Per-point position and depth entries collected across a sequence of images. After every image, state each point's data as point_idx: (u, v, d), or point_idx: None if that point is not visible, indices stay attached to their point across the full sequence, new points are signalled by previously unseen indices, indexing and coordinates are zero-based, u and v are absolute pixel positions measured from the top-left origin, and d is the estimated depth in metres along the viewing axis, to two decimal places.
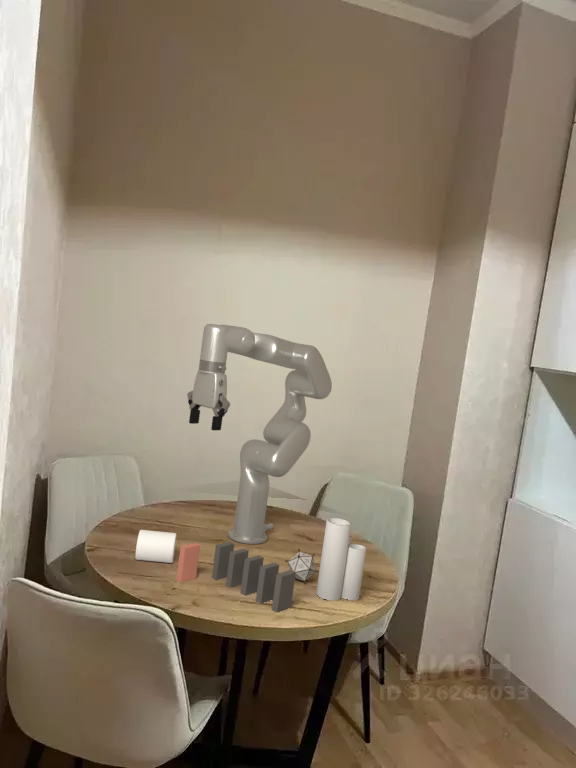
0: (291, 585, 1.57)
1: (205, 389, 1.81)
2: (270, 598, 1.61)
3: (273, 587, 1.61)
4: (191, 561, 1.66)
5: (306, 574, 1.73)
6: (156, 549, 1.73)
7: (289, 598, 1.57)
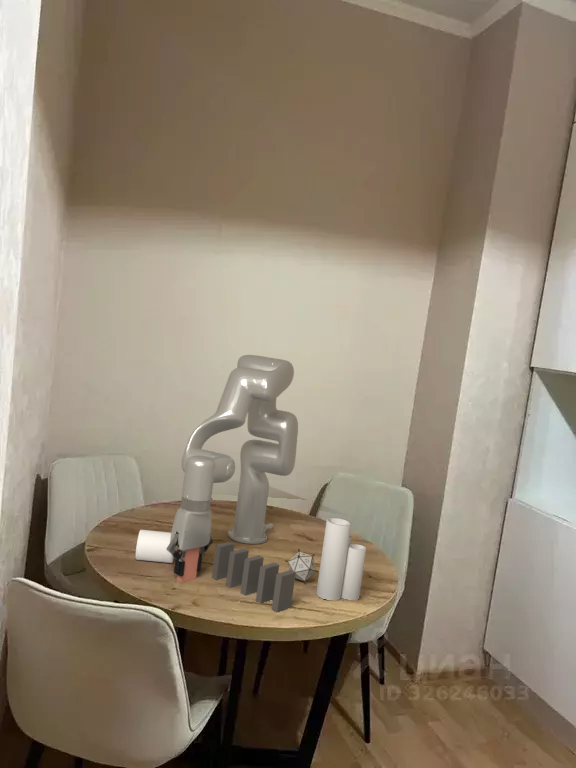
0: (291, 585, 1.57)
1: (202, 529, 1.65)
2: (270, 598, 1.61)
3: (273, 587, 1.61)
4: (191, 561, 1.66)
5: (306, 574, 1.73)
6: (156, 549, 1.73)
7: (289, 598, 1.57)
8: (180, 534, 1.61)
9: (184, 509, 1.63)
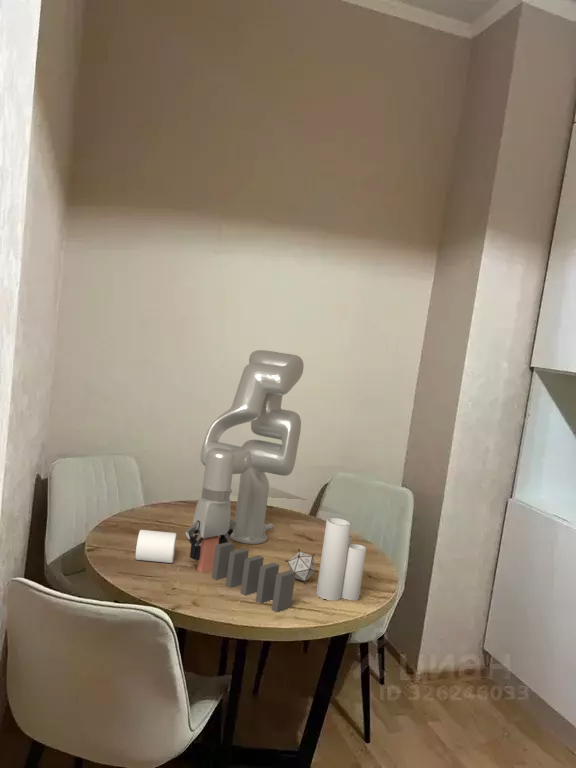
0: (291, 585, 1.57)
1: (222, 518, 1.74)
2: (270, 598, 1.61)
3: (273, 587, 1.61)
4: (211, 552, 1.75)
5: (306, 574, 1.73)
6: (156, 549, 1.73)
7: (289, 598, 1.57)
8: (201, 522, 1.70)
9: (205, 499, 1.71)
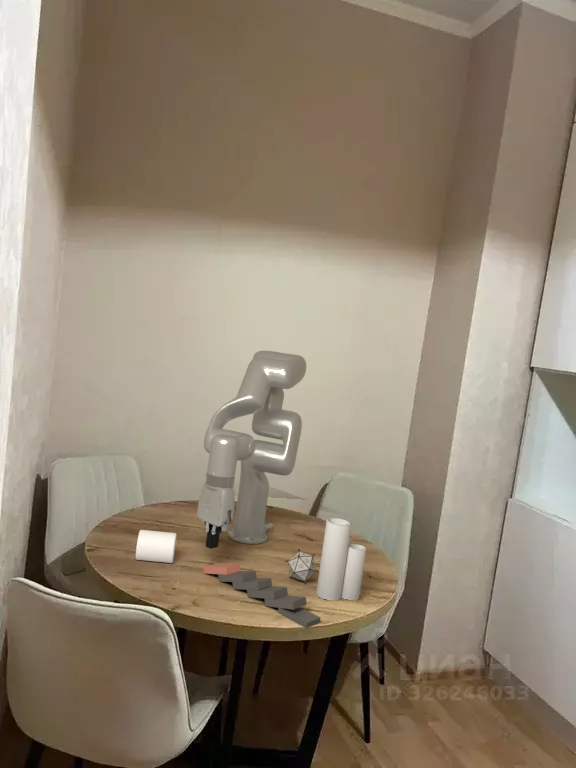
0: None
1: None
2: None
3: None
4: None
5: (306, 574, 1.73)
6: (156, 549, 1.73)
7: None
8: (232, 510, 1.71)
9: (229, 487, 1.71)
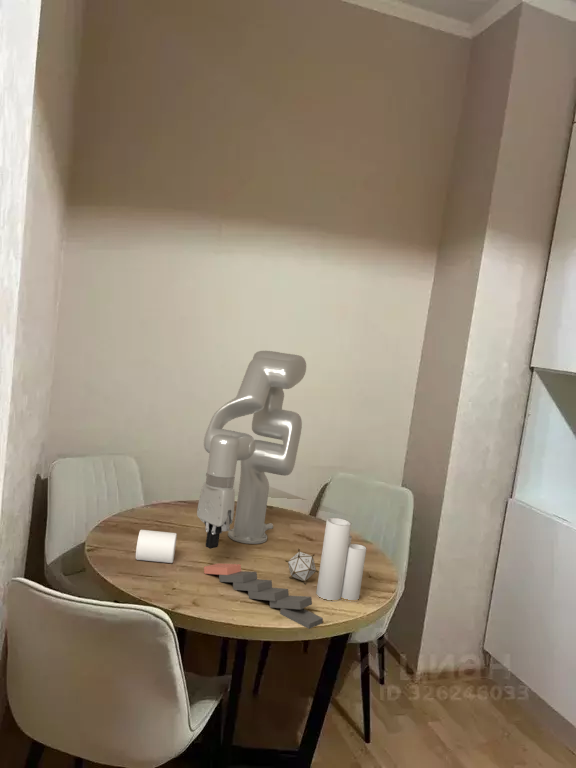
0: None
1: None
2: None
3: None
4: None
5: (306, 574, 1.73)
6: (156, 549, 1.73)
7: None
8: (232, 510, 1.71)
9: (229, 487, 1.71)
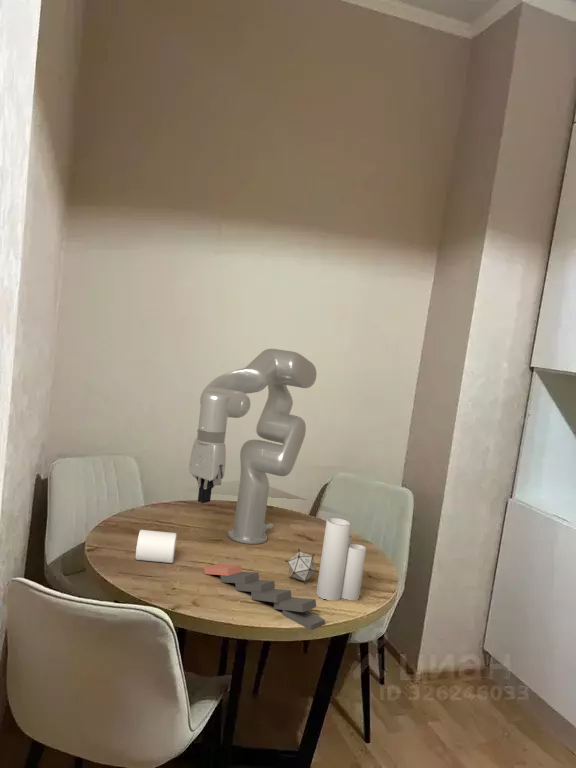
0: None
1: None
2: None
3: None
4: None
5: (306, 574, 1.73)
6: (156, 549, 1.73)
7: None
8: (224, 465, 1.74)
9: (220, 442, 1.74)
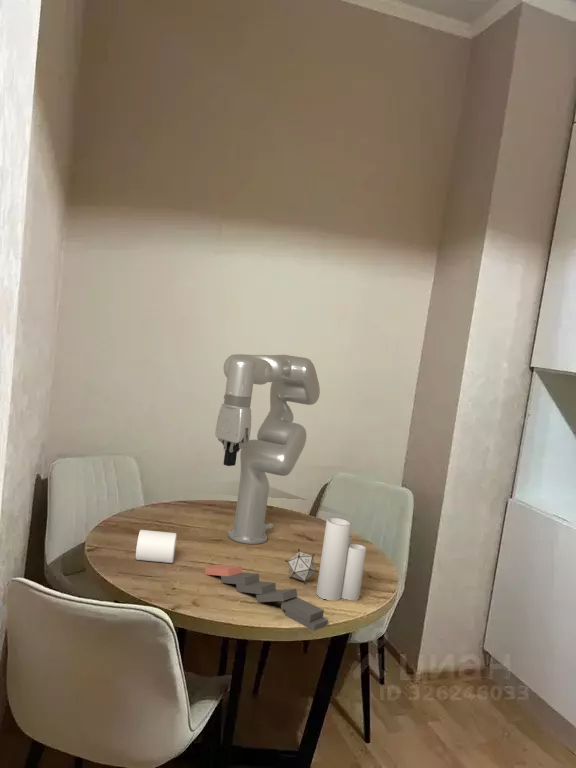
0: None
1: None
2: None
3: None
4: None
5: (306, 574, 1.73)
6: (156, 549, 1.73)
7: None
8: (249, 428, 1.80)
9: (246, 407, 1.80)
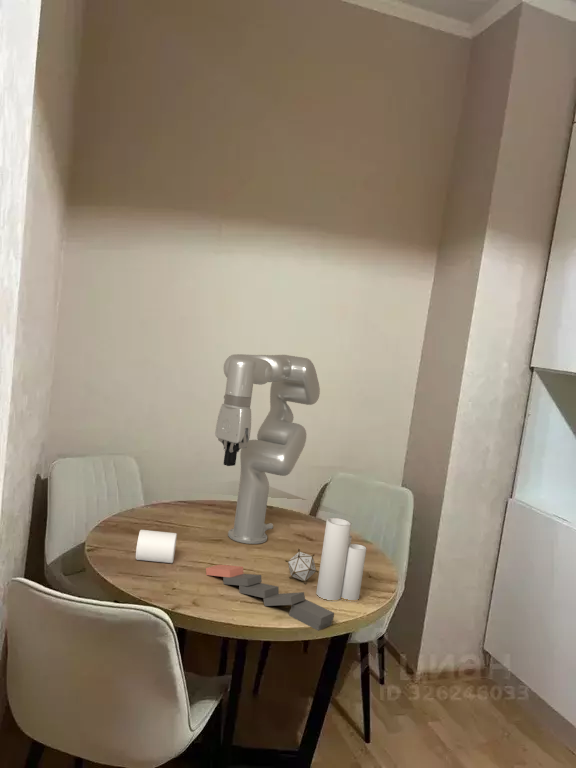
0: None
1: None
2: None
3: None
4: None
5: (306, 574, 1.73)
6: (156, 549, 1.73)
7: None
8: (249, 428, 1.80)
9: (246, 407, 1.80)
